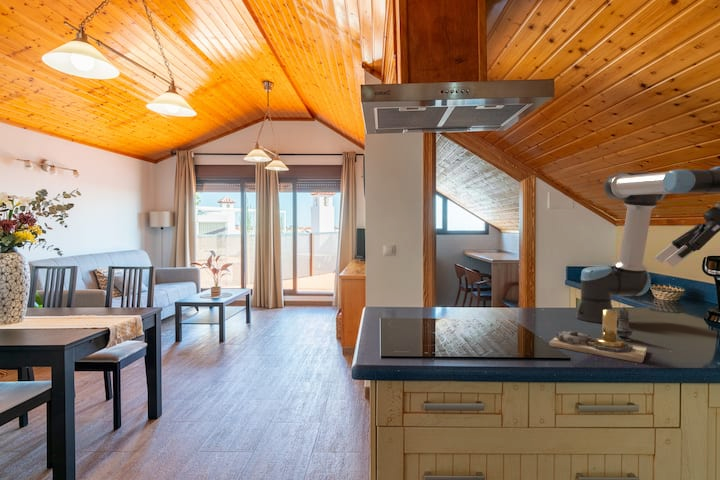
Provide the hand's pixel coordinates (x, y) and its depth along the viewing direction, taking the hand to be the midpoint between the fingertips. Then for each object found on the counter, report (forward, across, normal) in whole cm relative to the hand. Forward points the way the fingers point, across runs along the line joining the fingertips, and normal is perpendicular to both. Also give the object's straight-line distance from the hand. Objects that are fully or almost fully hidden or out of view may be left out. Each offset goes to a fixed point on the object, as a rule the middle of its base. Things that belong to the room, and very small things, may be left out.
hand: (663, 261), depth 126 cm
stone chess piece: (+27, +14, -15) cm, 34 cm away
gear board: (+34, -4, -8) cm, 35 cm away
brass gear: (+30, -5, -9) cm, 32 cm away
